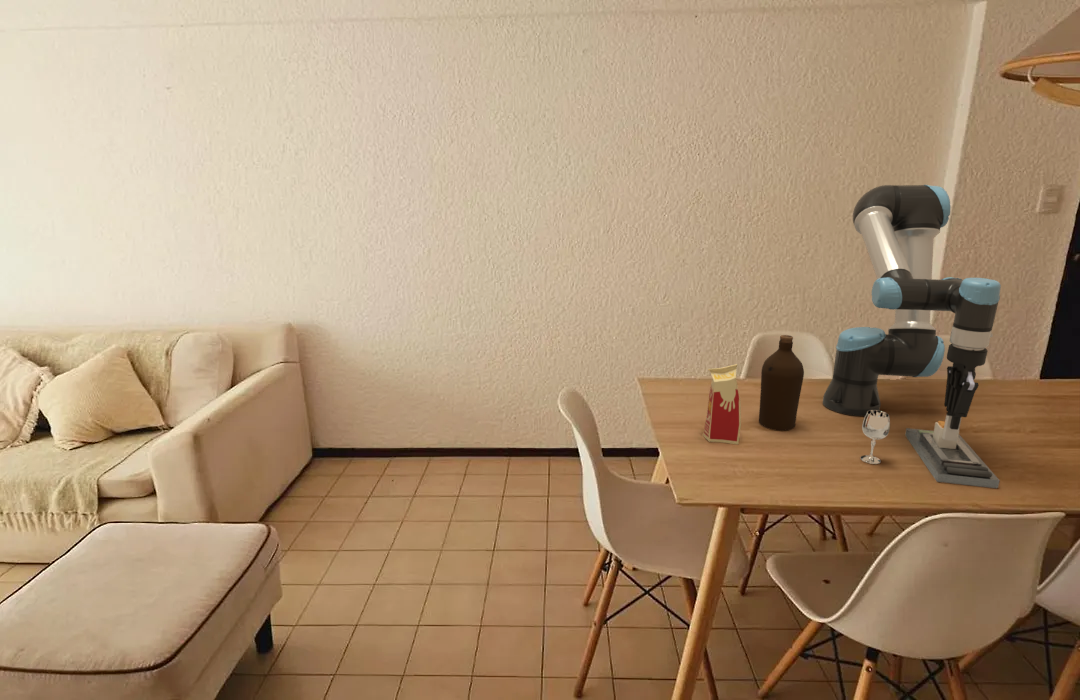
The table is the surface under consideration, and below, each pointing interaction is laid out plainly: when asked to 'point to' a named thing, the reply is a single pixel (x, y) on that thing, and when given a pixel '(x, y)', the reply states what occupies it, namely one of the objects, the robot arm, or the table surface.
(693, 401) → the table surface
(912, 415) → the table surface
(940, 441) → the toggle
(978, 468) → the twin grey rollers
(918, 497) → the table surface
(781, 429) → the olive oil
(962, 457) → the panel
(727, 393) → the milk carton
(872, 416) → the wineglass
